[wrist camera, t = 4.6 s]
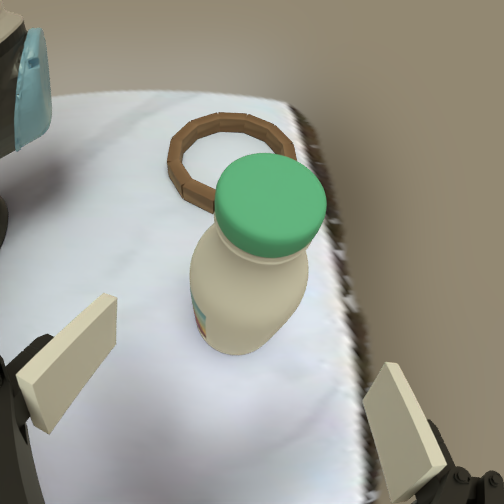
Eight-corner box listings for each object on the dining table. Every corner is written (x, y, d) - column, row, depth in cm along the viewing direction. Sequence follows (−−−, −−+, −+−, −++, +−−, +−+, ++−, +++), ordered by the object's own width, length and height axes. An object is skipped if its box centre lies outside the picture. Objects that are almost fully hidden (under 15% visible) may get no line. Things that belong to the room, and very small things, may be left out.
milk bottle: (286, 303, 31) (379, 173, 13) (252, 370, 27) (330, 320, 10) (219, 269, 32) (235, 107, 14) (181, 332, 28) (134, 218, 10)
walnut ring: (163, 214, 34) (160, 201, 31) (177, 124, 41) (176, 112, 39) (299, 217, 36) (305, 204, 34) (284, 129, 43) (287, 116, 41)
